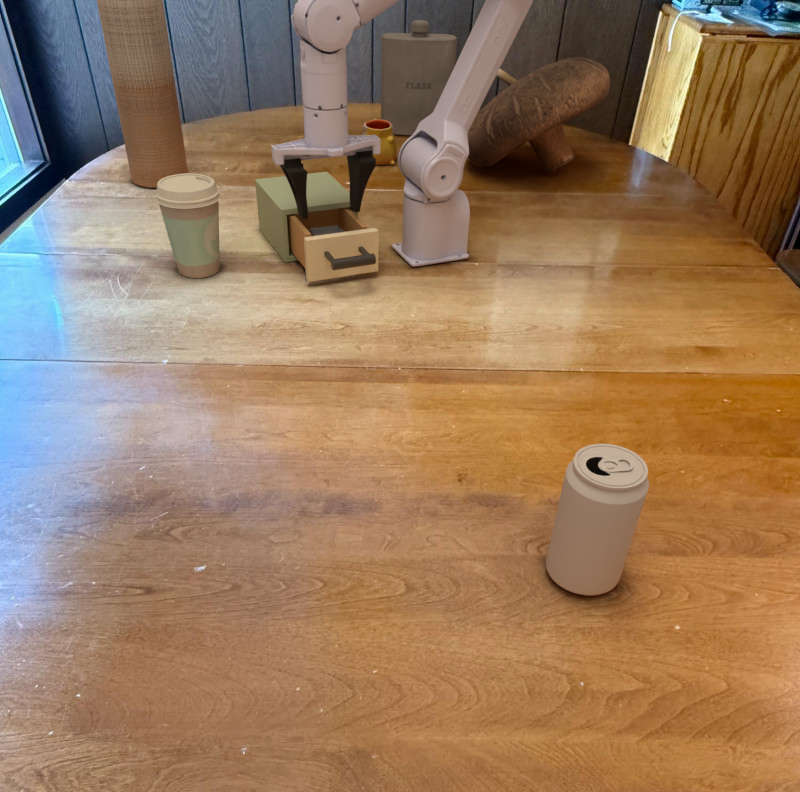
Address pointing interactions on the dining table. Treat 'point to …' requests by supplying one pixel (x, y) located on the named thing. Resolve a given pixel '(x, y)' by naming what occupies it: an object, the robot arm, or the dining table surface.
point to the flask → (414, 75)
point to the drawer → (333, 244)
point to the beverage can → (596, 518)
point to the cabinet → (294, 205)
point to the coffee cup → (191, 222)
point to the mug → (382, 140)
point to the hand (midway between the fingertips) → (329, 213)
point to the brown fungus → (537, 112)
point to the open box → (325, 230)
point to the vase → (144, 88)
